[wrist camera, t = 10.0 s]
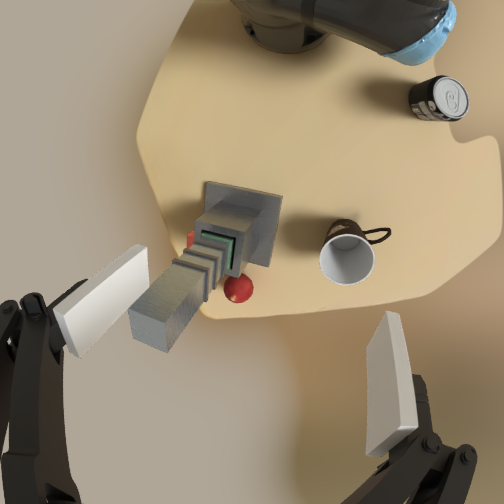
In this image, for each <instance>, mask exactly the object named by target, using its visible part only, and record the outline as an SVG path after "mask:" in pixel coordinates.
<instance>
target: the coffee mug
mask: <svg viewBox="0 0 504 504" xmlns="http://www.w3.org/2000/svg"><path fill="white" fill-rule="evenodd" d="M379 231H388V232H387V234H386V235H385V236H384V237H382V238H380V239H378V240H374V241H373V240H367V238H366V236H365V234H369V233H374V232H379ZM390 235H391V229H390V228H378V229H373V230H369V231H362V230H361V228H360V227H359V225H358V224H357V223H356V222H354V221H352V220H349V219H342V220H339V221H336V222H335V223H334V224H333V225H332V226H331V227H330V229H329V232H328V234H327V237H326V240H325V242H324V245H323V247H322V250H321V253H320V257H319V264H320V268H321V270H322V273H323V274H324V275H325V277H326V278H328V279H329V280H330V281H332V282H333V283H336V284H338V285H345V286H349V285H355V284H358V283H360V282H362V281H363V280H365V279H366V278H367V277H368V276H369V275H370V274H371V272H372V270H373V268H374V265H375V253H374V251H373V248H372V247H371V245H372V244H377V243H380V242H382V241H384V240H386V239H387V238H388V237H389V236H390Z"/></svg>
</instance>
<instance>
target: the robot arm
mask: <svg viewBox="0 0 504 504" xmlns="http://www.w3.org/2000/svg"><path fill="white" fill-rule="evenodd" d="M230 1H231V2H232V3H233V4H234V5H235V6H236V7H237V8H238V9H239V10H240V11H241V12H242V22H243V25H244V28H245V30H246V31H247V33H248V34H249V35H250V37H251V38H252V39H253V40H254V41H255V42H257V43H258V44H259V45H261V46H262V47H264V48H266V49H268V50H271V51H274V52H278V53H286V54H293V53H300V52H304V51H308V50H310V49H312V48H314V47H316V46H318V45H319V44H321V43H322V42H323V41H324V40H325V39H326V38H327V36H328V35H329V33H332V34H335V35H337V36H340V37H342V38H345V39H347V40H350V41H352V42H355V43H357V44H359V45H362V46H364V47H366V48H368V49H371V50H373V51H375V52H377V53H378V54H379V55H381V56H384V57H389V58H391V59H393V60H396V61H398V62H400V63H402V64H404V65H409V66H415V65H419V64H422V63H424V62H425V61H427V60H428V59H430V58H431V57H432V56H433V55H434V54H435V53H436V52H437V51H438V50H439V49H440V48H441V46H442V45H443V44H444V42H445V41H446V39H447V34H449V33H450V32H451V30H452V28H453V26H454V24H455V20H456V14H457V12H456V7H455V5H454V4H453V3H452V2H451V1H450V0H230ZM148 288H149V275H148V259H147V247H145V246H142V245H138V244H136V245H134V246H133V247H131V248H130V249H128V250H127V251H126V252H124V253H123V254H122V255H120V256H119V257H117V258H116V259H115V260H114V261H112V262H111V263H110V264H108V265H107V266H106V267H104V268H103V269H102V270H100V271H99V272H98V273H96V274H95V275H94V276H92V277H91V278H90V279H89V280H88V279H84V280H82V281H80V282H77V283H76V284H75V285H73V286H72V287H71V289H69V290H67V291H66V292H65V293H64V294H62V295H61V296H60V297H59V298H57V299H56V300H55V301H54V302H52V303H51V304H50V305H49V306H48V307H46V305H45V302H44V299H43V296H42V295H41V294H39V293H35V292H34V293H29V294H27V295H25V296H24V297H23V298H22V299H21V300H20V305H21V308H22V310H21V309H20V308H19V306H18V304H17V302H16V301H14V300H7V301H5V302H4V303H2V304H1V305H0V461H1V469H2V481H3V490H4V497H5V504H81V499H80V495H79V492H78V489H77V486H76V484H75V483H74V481H73V479H72V477H71V473H70V468H69V461H68V454H67V446H66V437H65V425H64V409H63V360H64V359H63V358H64V351H63V348H62V347H63V346H64V345H65V344H66V345H67V347H68V349H69V352H70V353H72V354H73V355H75V356H76V357H78V358H81V357H82V356H83V355H84V354H85V353H86V352H87V351H88V350H89V348H91V347H92V345H93V344H94V343H95V342H96V341H97V340H98V339H99V338H100V337H101V336H102V335H103V334H104V333H105V332H106V331H107V330H108V329H109V328H110V327H111V326H112V324H113V323H114V322H115V321H116V320H117V319H118V318H119V317H120V316H121V315H122V314H123V313H124V312H125V311H126V310H127V309H128V308H129V307H130V306H131V305H132V304H133V303H134V302H135V301H136V300H137V299H138V298H139V297H140V296H141V295H142V294H143V293H144V292H145V291H146V290H147V289H148ZM9 338H10V339H11V343H10V344H8V342H7V341H8V339H9ZM366 354H367V384H368V413H367V414H368V415H367V442H366V443H367V444H366V456H377V457H378V456H379V457H382V456H383V455H385V454H386V453H387V452H389V459H388V460H386V461H385V462H384V463H382V464H381V465H379V466H378V467H377V468H378V470H377V471H376V472H375V473H374V474H373V475H372V476H371V477H370V478H369V479H367V480H366V481H365V483H363V484H362V485H361V486H360V487H359V488H358V489H357V490H356V491H355V492H354V493H353V494H352V495H350V496H349V497H348V498H347V499H345V500H344V501H343V502H342V503H341V504H403V503H404V502H405V501H406V500H407V498H408V497H409V496H410V497H409V499H408V500H407V503H406V504H464V502H465V500H466V497H467V494H468V490H469V488H470V485H471V481H472V477H473V474H474V471H475V467H476V463H477V453H476V450H475V449H474V448H473V447H472V446H471V445H468V444H463V445H461V446H460V447H458V448H457V449H455V448H452V447H449V446H446V445H443V444H442V441H441V439H440V437H439V436H438V435H437V434H436V433H434V432H433V430H432V423H431V415H430V407H429V403H428V396H427V389H426V384H425V382H424V381H423V379H422V377H421V375H414V374H412V373H411V368H410V362H409V357H408V352H407V347H406V342H405V337H404V333H403V328H402V324H401V320H400V315H399V314H398V313H394V312H390V311H386V312H385V314H384V316H383V318H382V320H381V322H380V324H379V326H378V328H377V330H376V331H375V334H374V335H373V337H372V339H371V341H370V343H369V344H368V346H367V348H366ZM8 422H9V450H8V452H6V453H3V455H2V450H3V444H4V440H5V435H6V431H7V426H8ZM1 455H2V457H1ZM47 501H48V503H47Z"/></svg>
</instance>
